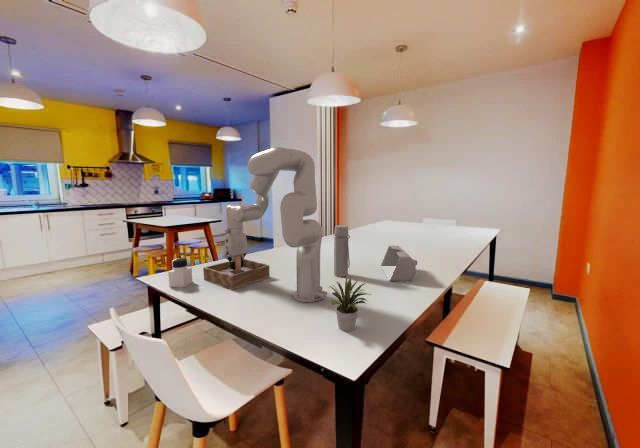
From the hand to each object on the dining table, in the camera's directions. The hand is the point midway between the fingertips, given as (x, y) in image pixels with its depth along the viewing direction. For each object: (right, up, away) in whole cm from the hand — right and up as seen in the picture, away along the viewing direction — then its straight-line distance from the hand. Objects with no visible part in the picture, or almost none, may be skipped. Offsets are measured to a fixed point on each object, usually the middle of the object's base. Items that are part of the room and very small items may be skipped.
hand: (236, 267), depth 137 cm
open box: (0, -5, +1) cm, 5 cm away
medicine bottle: (-23, -7, -8) cm, 25 cm away
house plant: (+48, -12, -48) cm, 69 cm away
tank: (+81, -5, +8) cm, 82 cm away
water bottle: (+51, -5, +5) cm, 52 cm away
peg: (0, -3, +1) cm, 3 cm away
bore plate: (0, -5, +1) cm, 5 cm away
